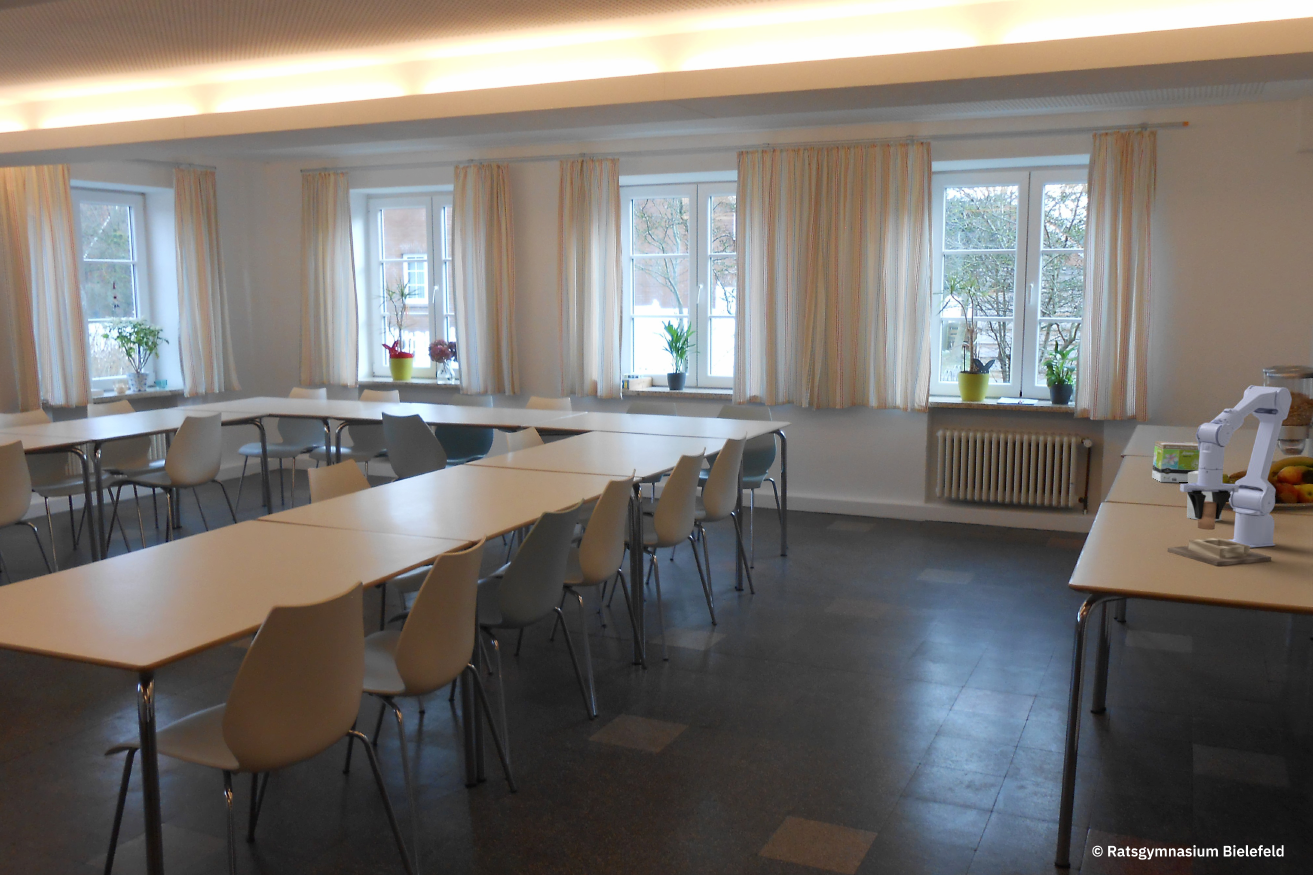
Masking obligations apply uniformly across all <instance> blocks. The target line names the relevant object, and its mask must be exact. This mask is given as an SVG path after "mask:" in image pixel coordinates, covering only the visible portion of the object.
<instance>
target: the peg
mask: <svg viewBox="0 0 1313 875" xmlns="http://www.w3.org/2000/svg"><path fill="white" fill-rule="evenodd" d="M1216 505H1217V503H1216V502H1211V501H1204V505H1203V515H1202V519H1198V520H1197V528H1198V529H1200V530H1208V531H1210V530H1215V528H1216V521H1215V518H1216Z"/></svg>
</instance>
